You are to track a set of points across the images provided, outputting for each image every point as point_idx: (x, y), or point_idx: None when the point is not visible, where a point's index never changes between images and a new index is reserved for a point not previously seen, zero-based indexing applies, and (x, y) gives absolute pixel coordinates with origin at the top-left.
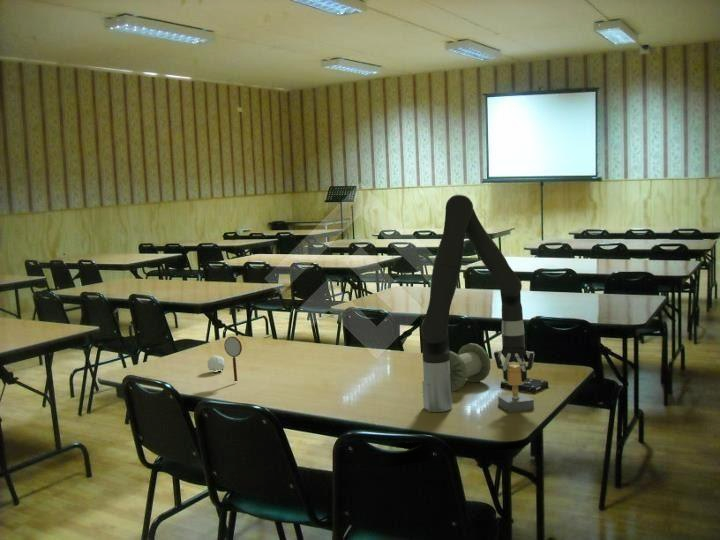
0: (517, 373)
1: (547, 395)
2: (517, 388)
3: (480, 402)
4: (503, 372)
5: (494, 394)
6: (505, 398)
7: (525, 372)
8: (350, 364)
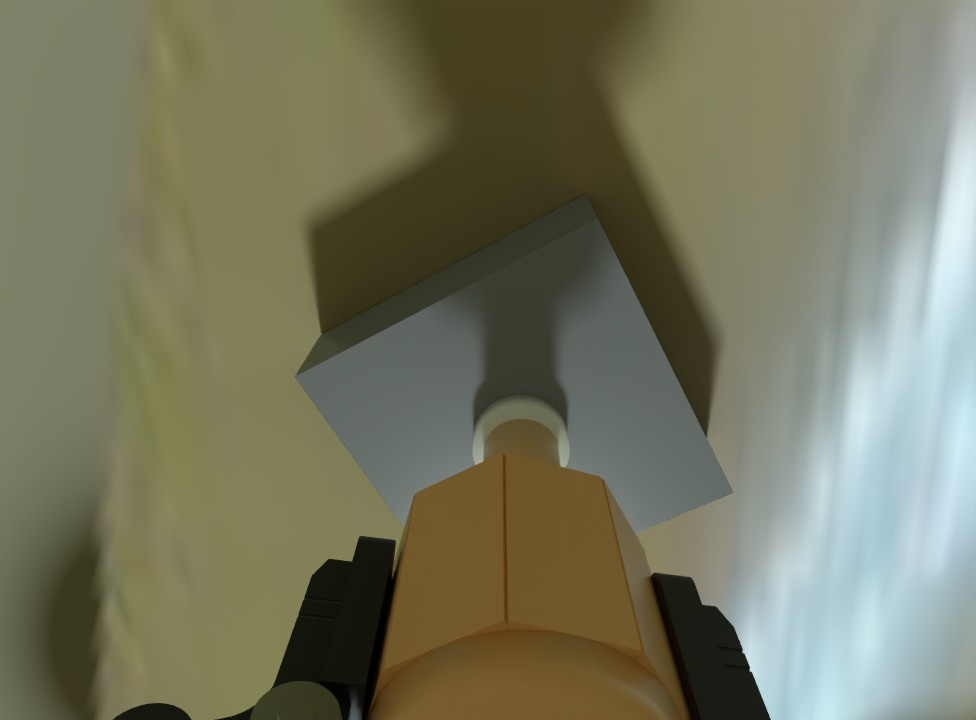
0: (456, 622)
1: None
2: None
3: (894, 499)
4: (763, 715)
5: None
6: (645, 418)
7: (287, 677)
8: None
